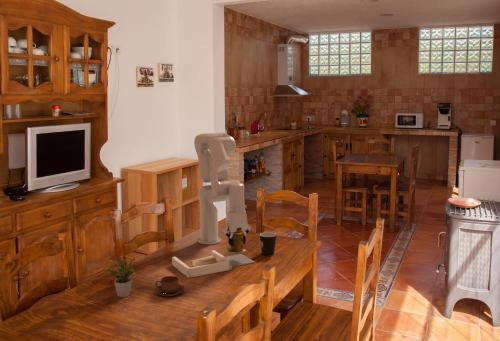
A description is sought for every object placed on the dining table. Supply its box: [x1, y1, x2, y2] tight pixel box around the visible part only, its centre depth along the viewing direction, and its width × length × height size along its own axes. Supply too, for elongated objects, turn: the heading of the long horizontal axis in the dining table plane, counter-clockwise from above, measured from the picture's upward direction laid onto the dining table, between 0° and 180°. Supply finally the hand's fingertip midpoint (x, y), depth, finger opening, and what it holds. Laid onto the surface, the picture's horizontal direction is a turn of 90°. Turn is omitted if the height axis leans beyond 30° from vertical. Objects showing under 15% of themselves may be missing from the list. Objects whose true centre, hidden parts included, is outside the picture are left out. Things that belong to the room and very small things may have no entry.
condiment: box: [224, 228, 247, 255], centre depth 263 cm, size 7×8×12 cm
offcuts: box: [190, 255, 218, 267], centre depth 253 cm, size 5×14×5 cm, turn 131°
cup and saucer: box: [154, 275, 185, 297], centre depth 225 cm, size 12×12×6 cm
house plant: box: [104, 255, 140, 298], centre depth 223 cm, size 14×14×16 cm
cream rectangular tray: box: [171, 249, 233, 279], centre depth 256 cm, size 20×22×4 cm
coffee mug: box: [259, 231, 277, 256], centre depth 278 cm, size 12×9×10 cm
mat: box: [225, 253, 256, 268], centre depth 265 cm, size 14×12×1 cm
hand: (237, 244), depth 264 cm, fingers closed on condiment, 6 cm apart
